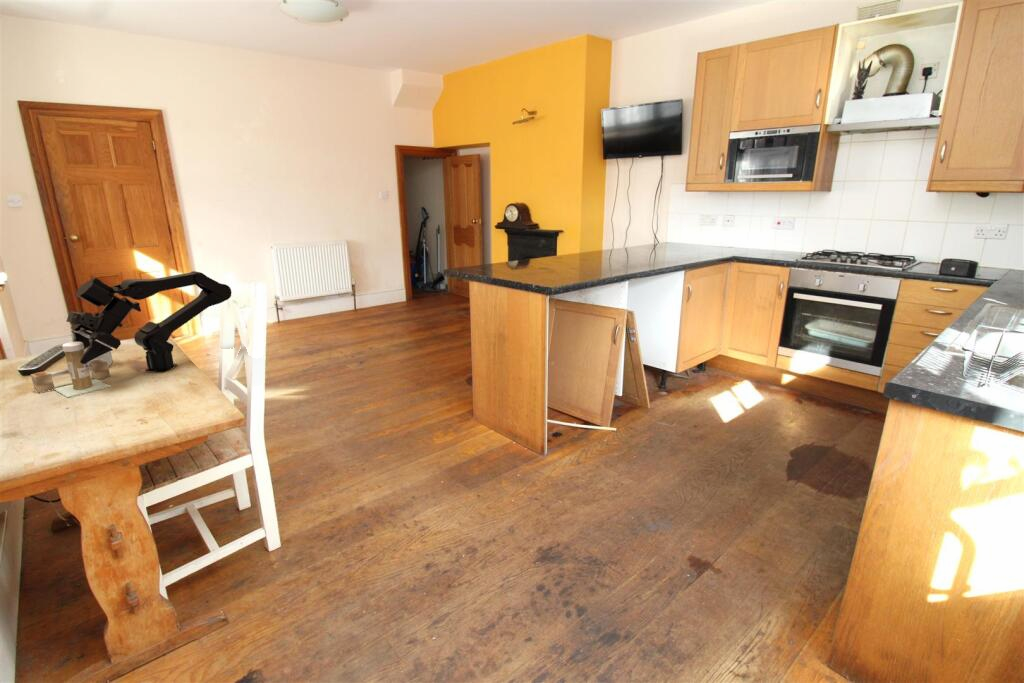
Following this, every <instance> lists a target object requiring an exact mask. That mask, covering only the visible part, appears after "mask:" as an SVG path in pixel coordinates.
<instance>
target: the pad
mask: <svg viewBox="0 0 1024 683" xmlns="http://www.w3.org/2000/svg"><path fill="white" fill-rule="evenodd" d="M91 382H92V384H93V385H92V386H91V387H89V388H85V389H78V390H77V389H73V384H72V383H71V384H68V385H65V386H60V387H56V388H55V389H54V390H53V391H55V390H56V391H55V392H57V391H58V392H59V394H60V393H61V394H63V395H64V397H65V396H66V397H67V398H66V397H65V398H66V399H69V398H68V397H70V398H73V397H72V396H74V397H78V396H81V395H80V394H82V395H85V394H84V393H86V394H89V393H88V392H90V393H93V392H92V391H94V392H97V391H96V390H98V391H101V390H104V388H105V389H109V388H110V387H111V386H110V384H107V383H105V382H102V380H100V379H95V378H93V379H91ZM108 387H109V388H108ZM100 389H101V390H100ZM58 392H57V393H58ZM61 394H60V395H61ZM63 395H62V396H63ZM77 395H78V396H77Z"/></svg>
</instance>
